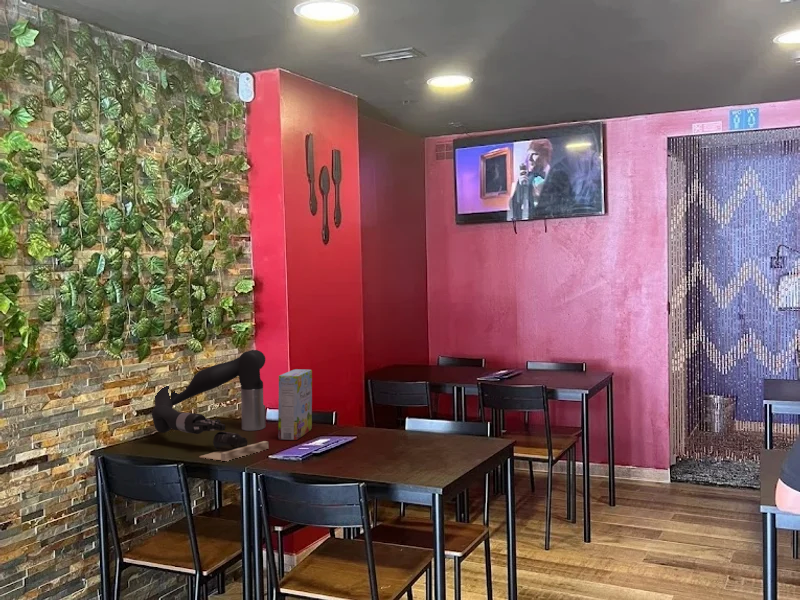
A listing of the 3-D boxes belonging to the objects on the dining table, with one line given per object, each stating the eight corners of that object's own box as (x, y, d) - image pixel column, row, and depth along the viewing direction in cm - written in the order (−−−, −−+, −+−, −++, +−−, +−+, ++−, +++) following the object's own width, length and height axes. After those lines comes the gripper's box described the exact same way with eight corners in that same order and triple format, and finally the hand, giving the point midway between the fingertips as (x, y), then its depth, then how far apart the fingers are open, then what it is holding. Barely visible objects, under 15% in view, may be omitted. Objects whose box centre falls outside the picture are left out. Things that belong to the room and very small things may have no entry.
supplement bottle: (215, 453, 287) (239, 457, 280) (210, 437, 284) (234, 440, 278) (227, 443, 292) (251, 447, 286) (223, 427, 290) (247, 431, 284)
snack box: (298, 441, 303) (297, 375, 302) (277, 440, 305) (276, 375, 304) (313, 429, 325) (312, 368, 324) (293, 429, 326) (292, 368, 325)
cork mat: (243, 445, 297) (243, 444, 297) (264, 448, 291) (264, 447, 291) (199, 457, 278) (199, 456, 278) (221, 461, 272) (221, 460, 272)
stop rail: (264, 448, 291) (264, 440, 290) (268, 449, 289) (268, 441, 289) (221, 461, 272) (221, 452, 272) (225, 462, 271) (225, 453, 271)
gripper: (204, 429, 302) (236, 434, 292) (177, 435, 291) (210, 441, 281) (204, 410, 301) (236, 414, 292) (177, 416, 290) (209, 420, 281)
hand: (223, 427), depth 286 cm, fingers closed
